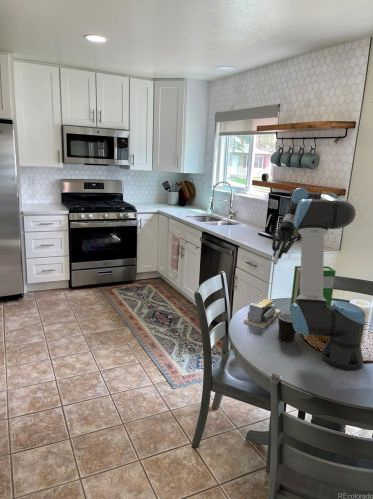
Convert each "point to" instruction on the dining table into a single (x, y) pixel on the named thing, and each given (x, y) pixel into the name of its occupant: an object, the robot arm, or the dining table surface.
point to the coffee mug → (286, 328)
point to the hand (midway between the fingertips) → (274, 262)
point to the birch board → (262, 322)
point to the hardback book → (327, 284)
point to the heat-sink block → (260, 313)
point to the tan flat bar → (265, 303)
